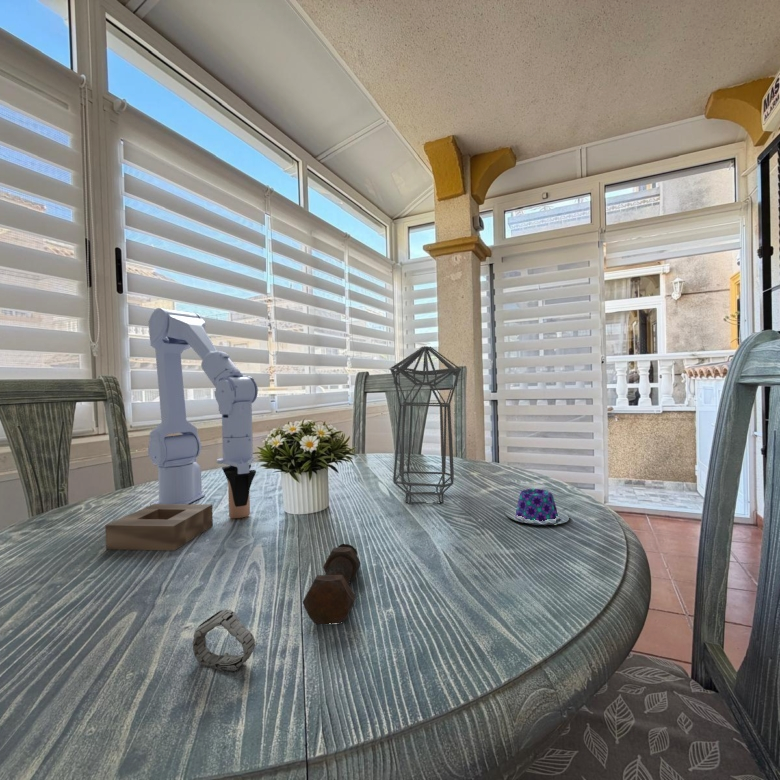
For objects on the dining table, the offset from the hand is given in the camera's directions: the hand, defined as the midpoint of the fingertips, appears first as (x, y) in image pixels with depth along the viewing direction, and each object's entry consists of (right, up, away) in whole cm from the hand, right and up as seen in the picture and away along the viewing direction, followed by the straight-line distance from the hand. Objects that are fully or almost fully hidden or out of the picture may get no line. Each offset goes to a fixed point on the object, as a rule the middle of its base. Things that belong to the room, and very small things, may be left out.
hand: (239, 502), depth 84 cm
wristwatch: (+15, -4, -45) cm, 47 cm away
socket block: (-10, -3, -10) cm, 14 cm away
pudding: (+59, -2, -4) cm, 59 cm away
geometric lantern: (+39, -2, +11) cm, 41 cm away
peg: (0, -2, 0) cm, 2 cm away
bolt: (+24, -3, -31) cm, 39 cm away
